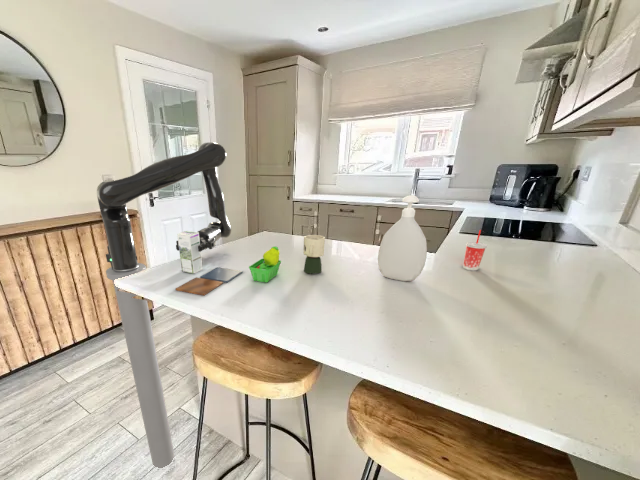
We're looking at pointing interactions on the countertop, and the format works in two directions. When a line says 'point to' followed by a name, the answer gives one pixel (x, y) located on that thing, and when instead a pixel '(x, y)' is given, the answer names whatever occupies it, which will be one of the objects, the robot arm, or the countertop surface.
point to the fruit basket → (266, 266)
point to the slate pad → (221, 274)
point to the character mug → (313, 253)
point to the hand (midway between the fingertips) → (188, 248)
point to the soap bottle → (403, 247)
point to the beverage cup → (474, 254)
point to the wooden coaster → (199, 286)
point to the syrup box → (190, 251)
